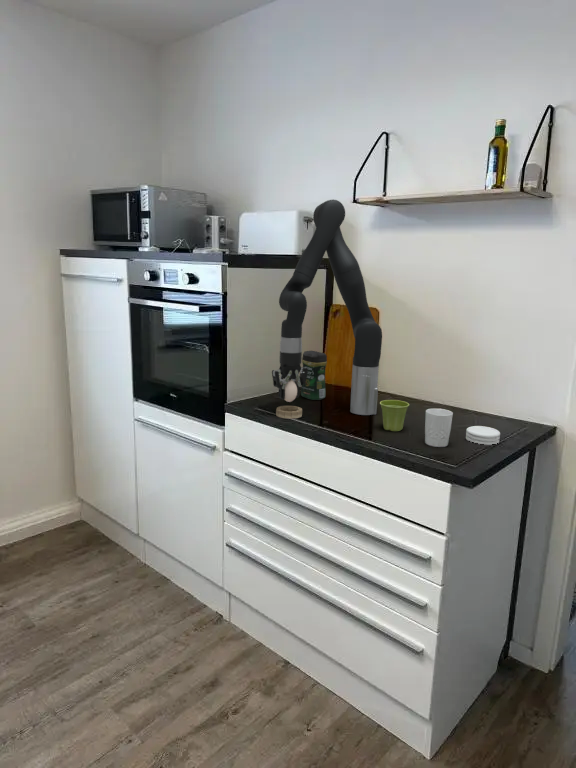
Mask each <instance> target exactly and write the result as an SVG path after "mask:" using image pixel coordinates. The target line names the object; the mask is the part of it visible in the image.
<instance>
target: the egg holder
mask: <svg viewBox="0 0 576 768" xmlns="http://www.w3.org/2000/svg"><path fill="white" fill-rule="evenodd" d="M275 415H276V417H278V418H282V419H290V420H291V419H299V418H301V417H303V416H302V415H303V408H302V407H299V406H296V405H280V406H278V407H276V410H275Z"/></svg>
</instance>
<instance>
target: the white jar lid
mask: <svg viewBox="0 0 576 768" xmlns="http://www.w3.org/2000/svg"><path fill="white" fill-rule="evenodd" d="M500 436H501V432H500V430H498V429H496V428H493V427H489V426H484V425H483V426H482V425H474V426H473V425H472V426H469V427H467V428H466V431H465V439H466V440H467V442H469V441H470V442H469V443H472V442H474V443H473V444H475V443H478V444H477V445H480V444H484V445H483V446H493V445H492V444H496V445H497V443H498V444H499V443H500V438H501V437H500Z"/></svg>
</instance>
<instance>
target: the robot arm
mask: <svg viewBox="0 0 576 768" xmlns="http://www.w3.org/2000/svg"><path fill="white" fill-rule="evenodd" d="M312 216H313V218H312V219H313V223H314V226H315V230H314V233H313V235H312V237H311V239H310V241H309V242H308V244H307V245H306V248H305V249H304V251H303V252H302V254H301V256H300V257H299V259H298V262H297V264H296V266H295V268H294V270H293V271H294V272H293V273H292V276H291V278H290V279H289V280H288V282H287V283H286V284H285V286H284V288H283V289H282V291H281V292H280V295H279V299H278V304H279V308H280V309H281V310H282V311H284V312H287V314H286V319H283V320H282V321H281V328H280V329H281V332H280V342H279V368H278V369H276V370H275V369H273V370H271V377H272V384H273V387H275V388H278V398H279V400H282V401H283V400H284V399H285V389H284V388H285V386H286V383H288V380H290V379H291V380H293V381H294V382H295V384H296V386H297V396H296V398H300V395H301V387H302V385H305V382H306V377H307V372H308V368H305V367H303V366H301V365H302V357H303V352H302V351H303V339H302V337H303V324H304V321H305V315H306V312H307V307H308V302H307V298H306V295H305V294H304V293H303V291H304V290H306V289H308V288H310V287H311V285H312V283H313V282H314V280H315V277H316V275H317V272H318V270H319V267H320V265H321V262H322V261H323V258H324V256H325V254H326V255H327V258H328V261H329V265H330V266H331V267H330V268H331V270H332V274H333V276H334V281H335V283H336V285H337V289H338V291H339V294H340V296H341V298H342V300H343V302H344V304H345V306H346V309H347V312H348V314H349V317H350V323H351V328H352V332H353V337H354V339H355V340H354V351H353V352H354V353H353V356H352V370H351V371H352V372H351V392H350V404H349V405H350V407H349V408H350V410H349V412H350V413H352V414H355V415H359V416H360V415H361V416H370V415H371V416H372V415H377V410H378V409H377V408H378V395H379V393H378V392H379V388H378V386H379V382H378V381H379V368H380V360H381V357H382V356H381V354H382V345H383V344H382V343H383V332H382V327H381V326H380V325H379V324H378V323H377V322H376V320H375V319H374V317H373V314H372V312H371V310H370V307H369V303H368V298H367V292H366V291H367V290H366V285H365V281H364V276H363V273H362V271H361V267H360V264H359V262H358V260H357V258H356V256H355V255H354V253H353V252H352V251H351V249H350V248H349V246H348V245H347V243H346V241H345V239H344V236H343V234H342V233H343V232H342V229H341V225H342V224H343V222H344V220H345V217H346V209H345V206H344V205H343V203H342V202H341V201H340V200H337V199H328V200H326V201H324V202H322V203H320V204H319V205H317V206H316V208H315V209H314V211H313V215H312ZM296 398H295V399H296ZM284 401H285V400H284Z"/></svg>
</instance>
